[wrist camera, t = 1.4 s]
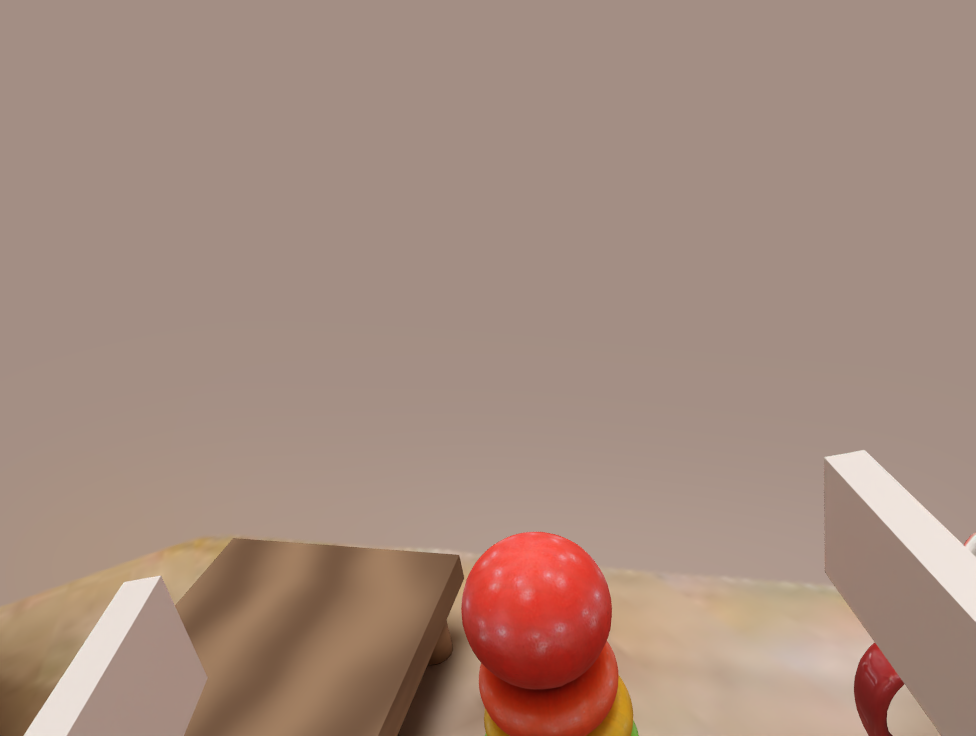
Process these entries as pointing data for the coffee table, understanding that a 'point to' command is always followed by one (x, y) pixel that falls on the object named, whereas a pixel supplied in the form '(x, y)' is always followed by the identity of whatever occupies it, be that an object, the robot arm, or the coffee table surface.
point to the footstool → (316, 637)
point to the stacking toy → (544, 641)
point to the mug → (880, 682)
